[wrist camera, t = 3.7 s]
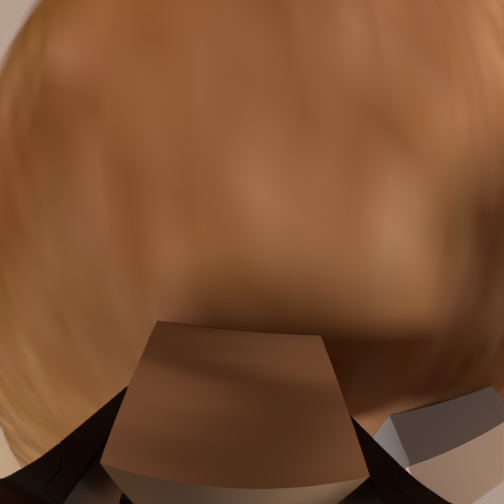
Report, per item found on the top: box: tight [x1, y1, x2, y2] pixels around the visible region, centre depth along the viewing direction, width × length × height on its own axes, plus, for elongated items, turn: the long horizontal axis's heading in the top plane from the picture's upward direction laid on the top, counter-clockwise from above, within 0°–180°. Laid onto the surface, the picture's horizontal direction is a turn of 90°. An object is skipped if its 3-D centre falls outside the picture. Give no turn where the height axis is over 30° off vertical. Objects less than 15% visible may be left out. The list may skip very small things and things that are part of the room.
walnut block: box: [100, 321, 370, 504], centre depth 7 cm, size 5×5×5 cm
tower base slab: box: [373, 386, 504, 469], centre depth 11 cm, size 9×9×4 cm
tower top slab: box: [405, 422, 504, 504], centre depth 7 cm, size 9×9×4 cm
